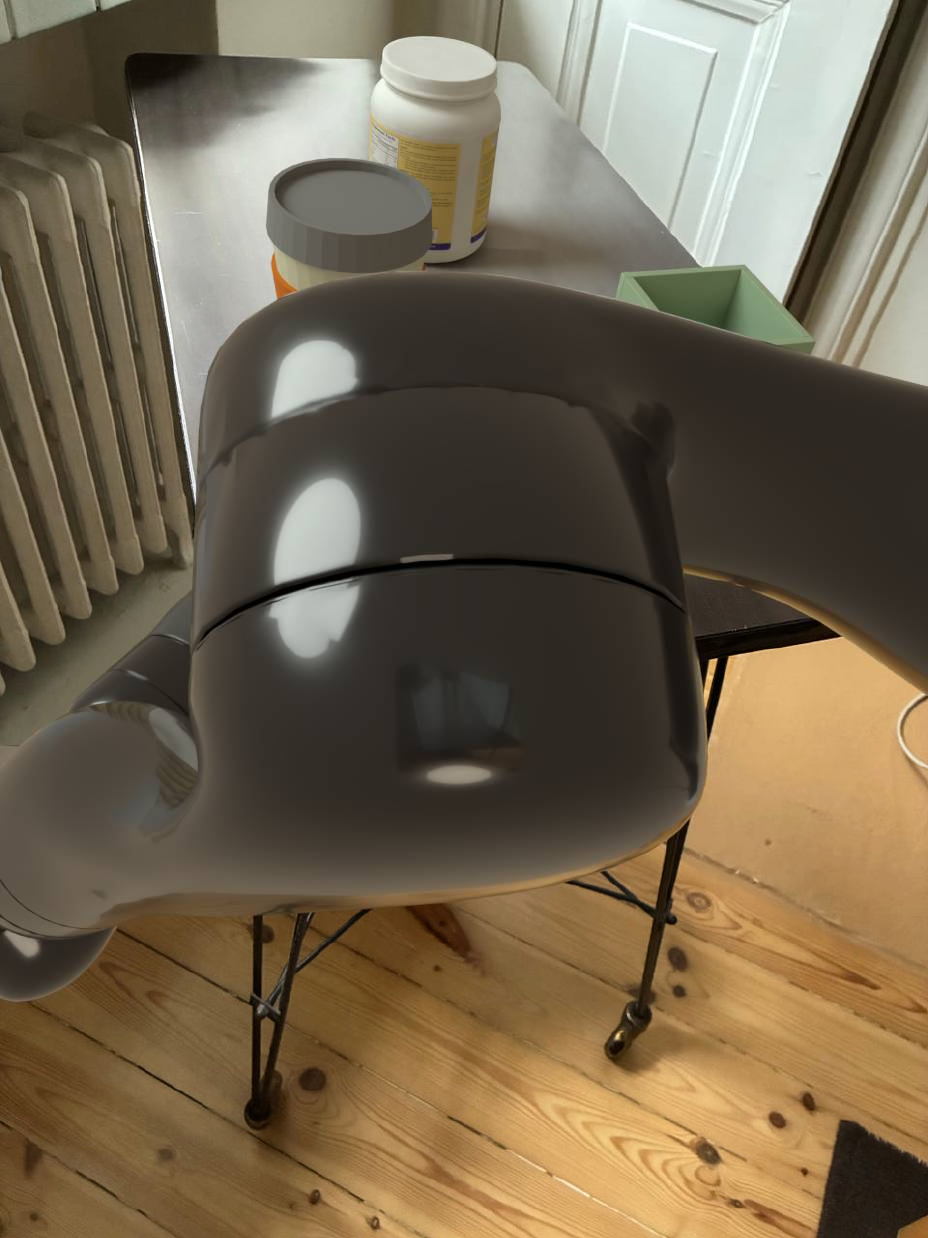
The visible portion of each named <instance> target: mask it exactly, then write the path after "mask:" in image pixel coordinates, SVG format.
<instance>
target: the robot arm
mask: <svg viewBox="0 0 928 1238" xmlns="http://www.w3.org/2000/svg"><path fill="white" fill-rule="evenodd" d="M213 357H214V358H213V359H212V362H211V364H210V366H209V368H208V371H207V376H206V380H205V384H204V389H203V393H202V398H201V399H202V400H201V404H200V410H199V411H200V413H199V424H198V437H197V439H198V441H197V457H196V459H197V460H196V462H197V463H196V480H195V505H194V527H193V528H194V530H193V531H194V533H193V555H192V556H193V557H192V559H193V560H192V583H191V585H192V586H191V589H190V590H189V591H188V592H187V593H186V594H185V595H183V597H181V598H180V599H179V600H178V601H177V602H176V603H174V605H173V606H171V607H170V608H169V610H168V611H166V613H165V614H164V615H163V616H162V618H161V619H160V620H159V621H158V623H157V624H156V625H155V626H154V627H153V628H152V629H151V631H149V633H148V634H146V635H145V637H144V638H142V639H141V640H140V641H139V642H137V643H136V644H135V645H134V646H133V647H131V649H129V650H128V651H127V652H126V653H125V654H124V655H122V657H120V658H119V659H118V660H117V661H116V662H114V664H113V665H111V666H110V667H109V668H107V670H106V671H104V672H103V673H102V674H101V675H100V676H99V677H98V678H97V679H95V681H93V682H92V683H91V684H90V685H89V686H88V687H87V688H85V690H84V691H82V692H81V693H80V694H79V695H78V696H77V697H76V698H75V700H74V701H73V702H72V703H71V704H70V705H69V708H68V709H67V711H66V713H65V714H63V715H61V716H59V717H58V718H56V719H55V720H53V721H51V722H50V723H48V724H47V725H45V726H43V727H42V728H40V729H38V730H36V731H35V732H34V733H32V734H31V735H30V736H29V737H28V738H27V739H25V741H23V742H22V743H21V744H17V745H15V744H14V745H13V744H11V745H10V744H8V745H0V999H2V1000H4V1001H9V1002H14V1003H19V1002H31V1001H35V1000H38V999H39V1000H40V999H42V998H44V997H47V996H50V995H52V994H55V993H57V992H59V991H61V990H63V989H64V988H67V987H68V986H69V985H70V984H72V983H74V982H76V980H77V979H78V978H80V977H81V976H82V975H84V974H85V973H86V971H87V970H89V969H90V968H91V967H92V966H93V965H94V963H95V962H96V961H97V960H98V958H100V957H101V955H102V953H103V952H104V950H105V949H106V948H107V946H108V945H109V943H110V941H111V940H112V938H113V936H114V935H115V933H116V931H117V929H118V928H119V926H120V925H124V924H126V923H129V922H132V921H135V920H138V919H142V918H148V917H156V916H157V917H159V916H167V917H169V916H170V917H197V918H226V917H227V918H228V917H253V916H274V915H275V916H276V915H291V914H292V915H293V914H295V915H296V914H309V913H310V914H311V913H325V912H326V913H327V912H342V911H343V912H344V911H358V910H369V909H384V908H385V909H386V908H396V907H409V906H421V905H422V906H423V905H433V904H435V905H437V904H446V903H453V902H462V901H468V900H469V901H470V900H477V899H484V898H485V899H486V898H493V897H501V896H507V895H512V894H517V893H523V892H528V891H533V890H538V889H539V890H540V889H544V888H549V887H553V886H557V885H561V884H564V883H568V882H571V881H575V880H578V879H581V878H585V877H589V876H592V875H594V874H598V873H602V872H606V871H608V870H611V869H614V868H615V867H618V866H620V865H623V864H624V863H627V862H629V861H631V860H633V859H636V858H639V857H641V856H643V855H645V854H647V853H650V852H651V851H652V850H654V849H656V848H657V847H659V846H661V845H662V844H664V843H666V842H667V841H668V840H669V839H670V838H672V837H673V836H675V834H676V833H678V832H679V831H680V830H681V829H682V828H683V827H684V826H685V824H687V822H688V821H689V820H690V819H691V818H692V816H693V815H694V813H695V811H696V809H697V808H698V806H699V804H700V802H701V801H702V797H703V793H704V790H705V787H706V784H707V783H706V782H707V777H708V766H709V751H708V750H709V749H708V747H709V746H708V728H707V714H706V704H705V695H704V685H703V679H702V672H701V665H700V658H699V653H698V652H699V651H698V645H697V641H696V637H695V636H696V635H695V630H694V626H693V620H692V613H691V608H690V602H689V595H688V590H687V583H686V578H685V577H686V576H685V574H687V575H692V576H694V577H695V576H696V577H700V578H705V579H709V580H714V581H719V582H723V583H726V584H730V585H734V586H737V587H739V588H743V589H745V590H749V591H752V592H755V593H758V594H761V595H763V596H766V597H768V598H770V599H773V600H775V601H777V602H781V603H782V604H784V605H787V606H789V607H791V608H793V609H795V610H797V611H799V612H801V613H803V614H804V615H806V616H807V617H808V616H809V617H810V618H812V619H814V620H816V621H817V622H820V623H821V624H822V625H824V626H826V627H827V628H828V629H830V630H832V631H833V632H835V633H836V634H838V635H839V636H840V637H842V638H843V639H846V641H849V642H850V643H852V644H853V645H854V646H856V647H857V648H859V649H860V650H861V651H862V652H864V653H866V654H867V655H869V657H871V658H873V659H874V660H875V661H877V662H878V663H880V664H881V665H883V666H884V667H885V668H887V669H888V670H890V671H891V672H892V673H894V674H896V675H897V676H898V677H899V678H901V679H902V680H903V681H905V682H907V683H908V684H910V685H911V686H912V687H914V688H915V689H917V690H918V691H919V692H921V693H923V694H924V695H925V696H927V697H928V385H925V384H924V385H923V384H920V383H915V382H912V381H908V380H904V379H901V378H898V377H897V378H896V377H893V376H889V375H884V374H880V373H876V372H873V371H869V370H866V369H863V368H857V367H854V366H851V365H847V364H843V363H840V362H836V361H834V360H830V359H826V358H823V357H819V356H815V355H812V354H810V355H809V354H806V353H802V352H799V351H796V350H792V349H789V348H785V347H782V346H778V345H775V344H772V343H768V342H765V341H761V340H758V339H755V338H751V337H748V336H744V335H741V334H737V333H734V332H731V331H727V330H724V329H720V328H717V327H714V326H710V325H707V324H703V323H700V322H696V321H693V320H690V319H686V318H683V317H679V316H675V315H672V314H668V313H665V312H661V311H658V310H654V309H650V308H647V307H643V306H640V305H636V304H633V303H629V302H625V301H622V300H618V299H615V297H611V296H607V295H602V294H598V293H593V292H588V291H584V290H579V289H576V288H570V287H566V286H561V285H557V284H552V283H548V282H544V281H539V280H533V279H529V278H528V279H527V278H523V277H517V276H510V275H504V274H503V275H502V274H495V273H494V274H493V273H485V272H477V271H452V270H428V269H426V270H413V271H390V272H382V273H374V274H366V275H358V276H350V277H343V278H339V279H334V280H330V281H327V282H324V283H321V284H318V285H314V286H311V287H308V288H305V289H302V290H299V291H296V292H292V293H290V294H288V295H285V296H283V297H281V298H279V299H277V298H276V300H274V301H272V302H270V303H269V304H267V305H266V306H264V307H262V308H260V309H259V310H257V311H256V312H254V313H253V314H250V315H249V316H247V317H246V319H244V320H243V321H242V322H241V323H240V324H239V325H238V326H237V327H236V328H235V329H234V330H233V332H232V333H231V334H230V335H229V336H228V338H227V339H226V340H225V341H223V343H222V345H221V346H220V347H219V348H218V350H217V352H216V354H215V355H214V356H213Z"/></svg>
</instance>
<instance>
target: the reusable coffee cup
mask: <svg viewBox="0 0 928 1238" xmlns="http://www.w3.org/2000/svg"><path fill="white" fill-rule="evenodd" d="M268 186H269V187H268V192H267V205H266V206H267V207H266V221H265V229H266V234H267V236H268V239H270V242H271V243H272V246H273V247H272V248H273V251H274V252H273V254H271V255H272V256H271V261H270V268H271V272H272V278H273V284H274V290H275V295H276V300H277V299H279V298H281V297H283V296H285V295H288V294H290V293H292V292H296V291H299V290H302V289H305V288H308V287H311V286H314V285H318V284H321V283H324V282H327V281H330V280H334V279H339V278H343V277H350V276H358V275H366V274H374V273H382V272H390V271H413V270H427V268H426V264H425V263H424V259H425V254H426V252H427V251H428V250H429V249H430V246H431V244H432V198H431V196H430V193H429V191H428V190H427V189H426V187H425V186H424V185H423V184H422V183H421V182H420V181H418V180H417V179H416V178H414V177H413V176H411V175H409V174H407V173H405V172H404V171H401V170H399V169H396V168H394V167H391V166H388V165H384V164H381V163H377V162H372V161H369V160H368V159H367V160H366V159H360V158H349V157H328V158H327V157H326V158H315V159H312V160H306V161H303V162H299V163H296V164H293V165H290V166H288V167H286V168H285V169H282V170H281V171H280V172H278V173H276V174H275V176H273V179H272V180H271V181H270V183H269V185H268Z"/></svg>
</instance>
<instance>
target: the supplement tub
mask: <svg viewBox="0 0 928 1238" xmlns="http://www.w3.org/2000/svg"><path fill="white" fill-rule="evenodd" d="M379 73H380V76H381V78H380V79H379V81H378V82H377V83H376V84H375V86H374V87H373V90H372V93H371V97H370V103H369V107H370V115H369V117H370V118H369V119H370V122H369V123H370V124H369V153H368V154H369V157H368V161H372V162H377V163H381V164H384V165H388V166H391V167H394V168H396V169H399V170H401V171H404V172H405V173H407V174H409V175H411V176H413V177H414V178H416V179H417V180H418V181H420V182H421V183H422V184H423V185H424V186H425V187H426V189H427V190H428V191H429V193H430V196H431V198H432V244H431V246H430V249H429V250H428V251H427V252H426V254H425V259H424V264H443V263H449V262H454V261H459V260H462V259H464V258H466V257H468V256H471V254H473V253H475V252H476V251H477V250H478V249H479V248H480V247H481V245H482V244H483V242H484V240H485V237H486V235H487V229H488V228H487V227H488V226H487V225H488V219H489V211H490V210H489V209H490V201H491V193H492V186H493V179H494V178H493V177H494V169H495V164H496V163H495V162H496V157H497V155H496V154H497V147H498V139H499V133H500V124H501V122H502V107H501V103H500V100H499V97H498V96H497V94H496V92H495V90H496V88H497V86H498V77H497V73H498V62H497V60H496V58H495V57H494V56H493V55H492V54H491V53H490V52H489V51H487V50H485V49H484V48H482V47H480V46H477V45H476V44H473V43H469V42H466V41H463V40H459V39H454V38H448V37H442V36H430V35H429V36H428V35H426V36H425V35H424V36H420V35H419V36H407V37H403V38H398V39H396V40H395V39H394V40H393V41H391V42H389V43H388V44H386V45H385V47H383V50H382V58H381V64H380V68H379Z"/></svg>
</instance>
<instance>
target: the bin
mask: <svg viewBox="0 0 928 1238" xmlns="http://www.w3.org/2000/svg"><path fill="white" fill-rule="evenodd" d="M614 298H615V299H618V300H622V301H625V302H629V303H633V304H636V305H640V306H643V307H647V308H650V309H654V310H658V311H661V312H665V313H668V314H672V315H675V316H679V317H683V318H686V319H690V320H693V321H696V322H700V323H703V324H707V325H710V326H714V327H717V328H720V329H724V330H727V331H731V332H734V333H737V334H741V335H744V336H748V337H751V338H755V339H758V340H761V341H765V342H768V343H772V344H775V345H778V346H782V347H785V348H789V349H792V350H796V351H799V352H802V353H806V354H809V355H812V352H813V349H814V347H815V345H816V340H815V338H814V337H812V336H811V334H810V333H809V332H808V331H807V330H806V329H805V328H804V327H803V326H802V325H801V324H800V322H799V321H798V320H797V319H796V318H795V317H794V316H793V315H792V313H791V312H790V311H789V310H787V308H786V307H785V306H784V305H783V304H782V302H780V300H779V299H778V298H776V296H775V295H774V294H773V293H772V292H771V291H770V289H768V288H767V287H766V285H765V284H764V283H763V282H762V281H761V280H760V279H759V278H758V277H757V276H756V275H755V274H754V272H753V271H752V270H751V269H749V267H748V266H747V265H746V264H732V265H716V266H715V265H714V266H702V267H701V266H700V267H699V266H698V267H685V268H672V269H671V268H670V269H656V270H655V269H654V270H641V271H639V270H638V271H625V272H624V271H623V272H621V273H620V277H619V280H618V286H617V288H616V293H615V297H614Z"/></svg>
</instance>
